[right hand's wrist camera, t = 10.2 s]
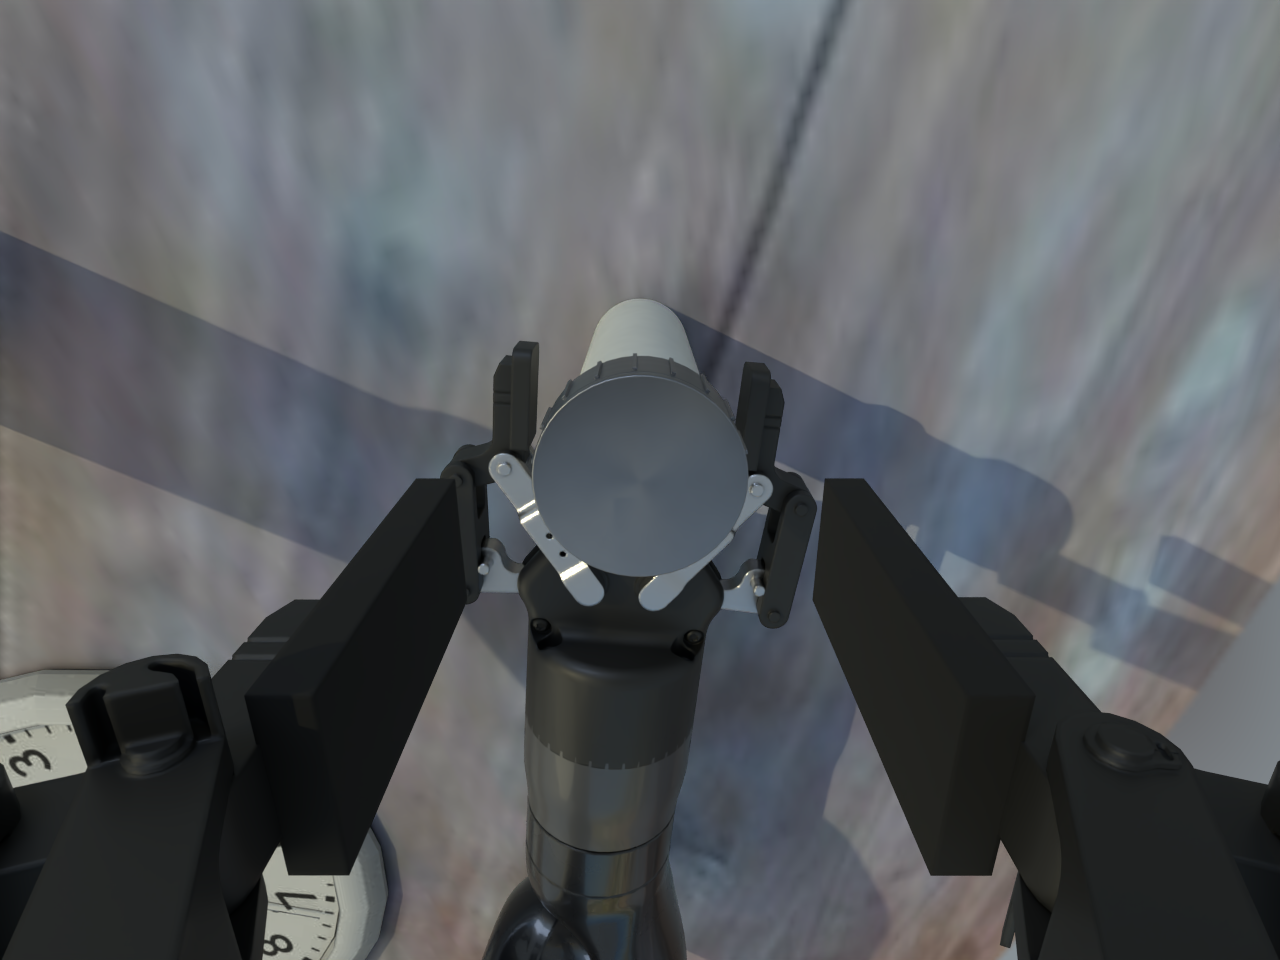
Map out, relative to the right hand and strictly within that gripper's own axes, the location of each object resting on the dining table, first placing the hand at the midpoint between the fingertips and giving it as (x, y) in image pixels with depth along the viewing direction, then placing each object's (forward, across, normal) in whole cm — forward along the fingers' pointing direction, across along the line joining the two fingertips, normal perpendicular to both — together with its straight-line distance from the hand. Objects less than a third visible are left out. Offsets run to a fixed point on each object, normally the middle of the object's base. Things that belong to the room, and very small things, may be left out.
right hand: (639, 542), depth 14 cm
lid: (+4, 0, 0) cm, 4 cm away
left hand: (+13, 0, -1) cm, 13 cm away
